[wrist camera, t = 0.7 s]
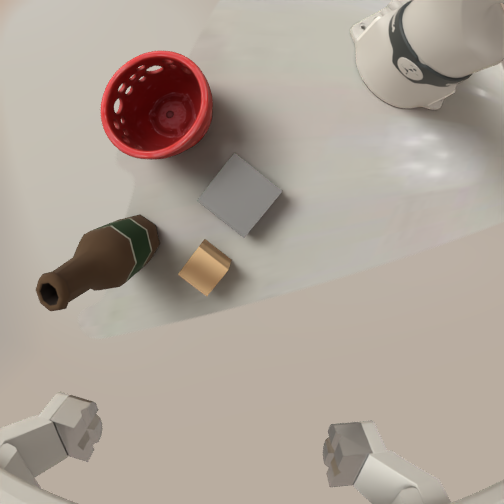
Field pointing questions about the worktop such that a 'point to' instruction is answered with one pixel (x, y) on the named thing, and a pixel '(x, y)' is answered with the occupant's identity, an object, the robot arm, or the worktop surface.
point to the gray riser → (239, 195)
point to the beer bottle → (100, 261)
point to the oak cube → (205, 267)
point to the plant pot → (157, 106)
